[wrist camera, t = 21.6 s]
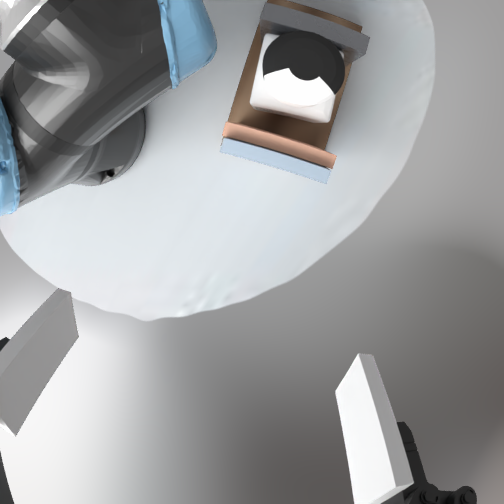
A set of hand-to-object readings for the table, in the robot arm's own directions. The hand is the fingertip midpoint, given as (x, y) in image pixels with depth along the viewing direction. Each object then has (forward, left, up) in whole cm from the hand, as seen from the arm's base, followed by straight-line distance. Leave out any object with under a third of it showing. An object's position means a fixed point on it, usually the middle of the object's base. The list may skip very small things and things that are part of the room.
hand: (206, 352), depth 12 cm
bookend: (+2, +20, -26) cm, 33 cm away
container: (+1, +15, -27) cm, 31 cm away
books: (+1, +7, -27) cm, 28 cm away
